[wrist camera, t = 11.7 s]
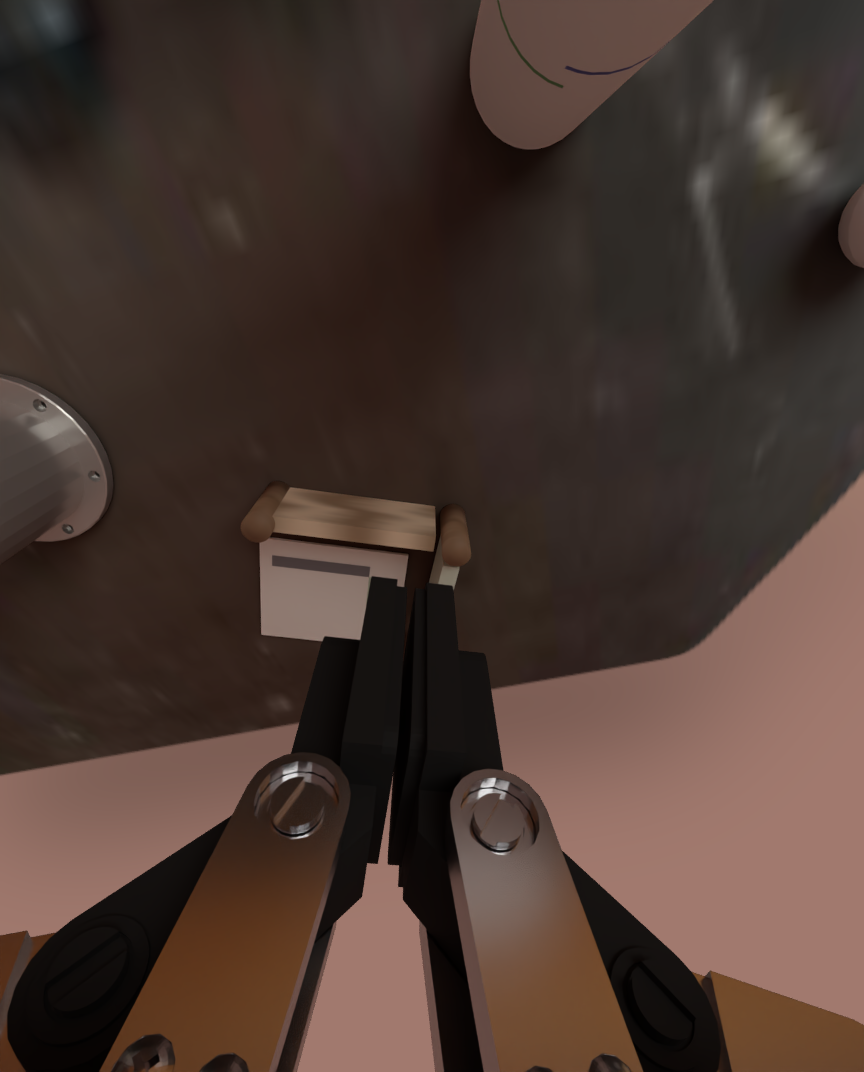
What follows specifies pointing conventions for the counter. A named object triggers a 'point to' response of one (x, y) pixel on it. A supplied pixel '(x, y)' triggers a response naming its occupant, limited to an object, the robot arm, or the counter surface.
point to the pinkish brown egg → (853, 228)
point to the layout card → (320, 587)
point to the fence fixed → (357, 521)
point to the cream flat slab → (443, 570)
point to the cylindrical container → (562, 59)
